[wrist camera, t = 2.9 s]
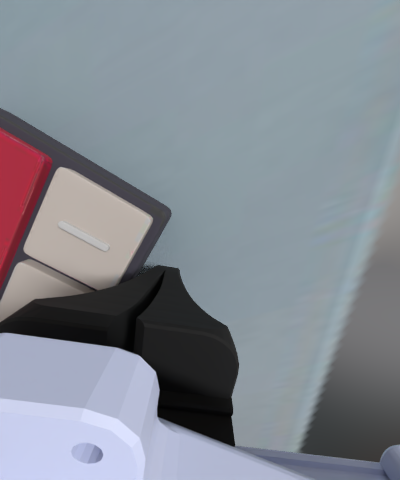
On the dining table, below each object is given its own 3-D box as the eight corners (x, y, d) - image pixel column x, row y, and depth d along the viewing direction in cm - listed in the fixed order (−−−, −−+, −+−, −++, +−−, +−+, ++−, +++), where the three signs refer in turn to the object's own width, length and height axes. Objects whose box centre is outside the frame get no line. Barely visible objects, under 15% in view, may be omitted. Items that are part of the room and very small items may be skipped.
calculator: (166, 215, 9) (45, 429, 11) (176, 209, 13) (85, 367, 16) (-86, 67, 7) (-157, 353, 10) (17, 115, 11) (-53, 307, 14)
